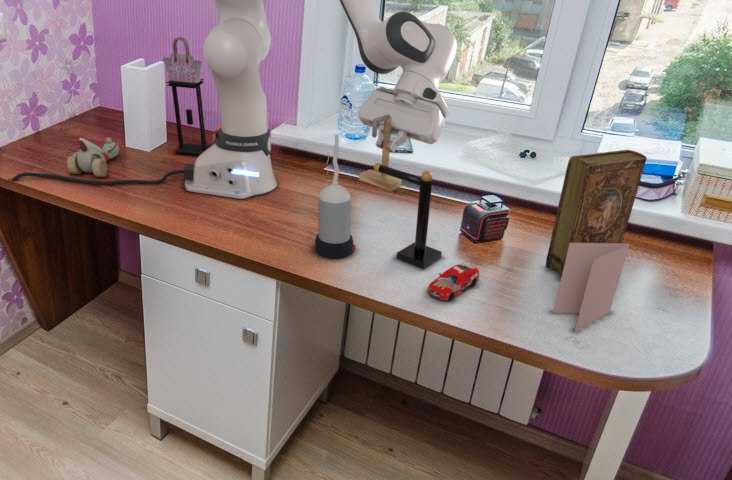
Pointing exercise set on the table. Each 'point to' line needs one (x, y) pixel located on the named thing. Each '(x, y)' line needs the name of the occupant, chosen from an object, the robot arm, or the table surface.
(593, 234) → the book
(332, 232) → the humidifier
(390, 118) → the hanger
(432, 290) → the race car
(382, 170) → the stand
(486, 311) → the table surface
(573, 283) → the greeting card
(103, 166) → the toy dog
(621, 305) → the table surface
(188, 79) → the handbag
